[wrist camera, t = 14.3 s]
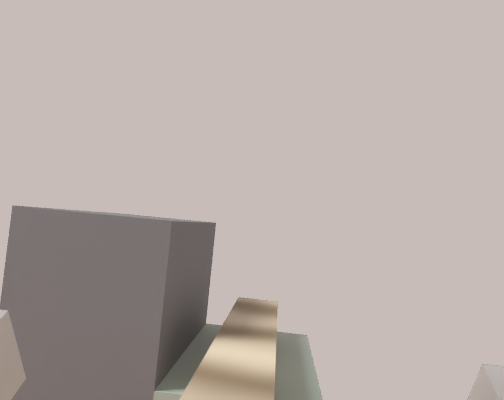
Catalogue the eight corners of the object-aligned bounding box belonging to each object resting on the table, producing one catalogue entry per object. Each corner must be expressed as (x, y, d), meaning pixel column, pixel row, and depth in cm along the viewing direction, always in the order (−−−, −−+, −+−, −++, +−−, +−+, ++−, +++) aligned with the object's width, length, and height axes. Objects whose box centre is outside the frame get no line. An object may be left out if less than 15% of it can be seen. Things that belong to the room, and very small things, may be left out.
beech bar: (263, 554, 11) (272, 452, 11) (146, 537, 11) (157, 437, 11) (274, 334, 33) (277, 301, 33) (235, 330, 33) (238, 297, 33)
